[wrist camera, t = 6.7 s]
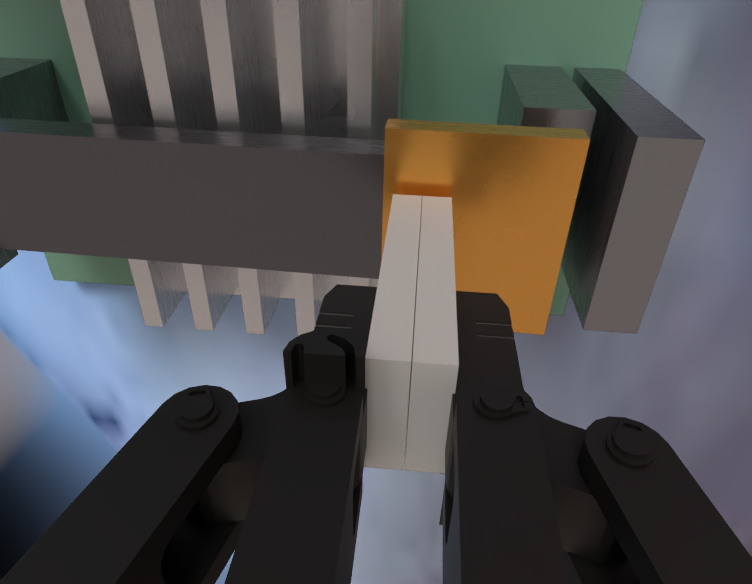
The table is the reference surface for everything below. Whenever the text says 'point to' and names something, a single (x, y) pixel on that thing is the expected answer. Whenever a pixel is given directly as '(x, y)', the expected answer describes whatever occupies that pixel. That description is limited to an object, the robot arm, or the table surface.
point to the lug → (610, 182)
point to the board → (420, 75)
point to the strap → (297, 198)
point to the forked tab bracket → (29, 100)
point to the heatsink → (240, 107)
